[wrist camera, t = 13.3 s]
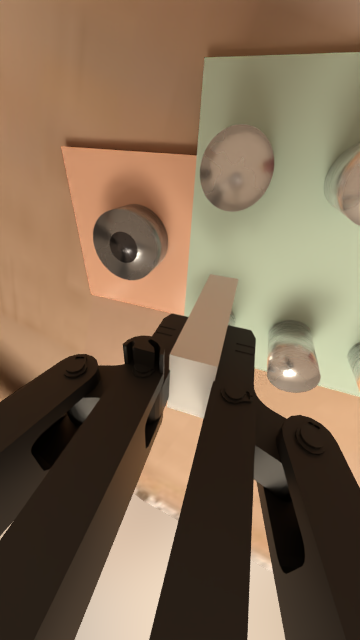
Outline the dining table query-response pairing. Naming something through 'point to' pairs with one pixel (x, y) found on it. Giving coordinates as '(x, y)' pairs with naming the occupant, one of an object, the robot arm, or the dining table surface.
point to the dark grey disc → (130, 241)
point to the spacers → (245, 190)
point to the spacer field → (285, 204)
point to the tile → (144, 189)
